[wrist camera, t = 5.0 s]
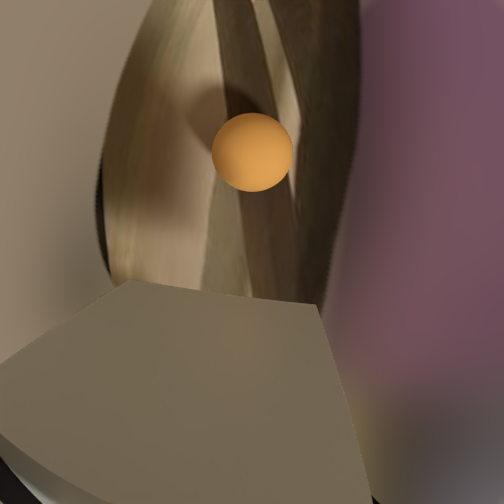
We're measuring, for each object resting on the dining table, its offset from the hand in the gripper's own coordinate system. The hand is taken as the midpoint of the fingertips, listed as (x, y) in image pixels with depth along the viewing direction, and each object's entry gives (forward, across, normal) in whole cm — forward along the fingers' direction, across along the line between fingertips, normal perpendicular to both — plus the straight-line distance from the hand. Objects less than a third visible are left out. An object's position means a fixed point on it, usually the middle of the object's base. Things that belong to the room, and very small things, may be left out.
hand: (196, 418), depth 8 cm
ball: (+10, 0, -10) cm, 15 cm away
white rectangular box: (+3, 0, 0) cm, 3 cm away
